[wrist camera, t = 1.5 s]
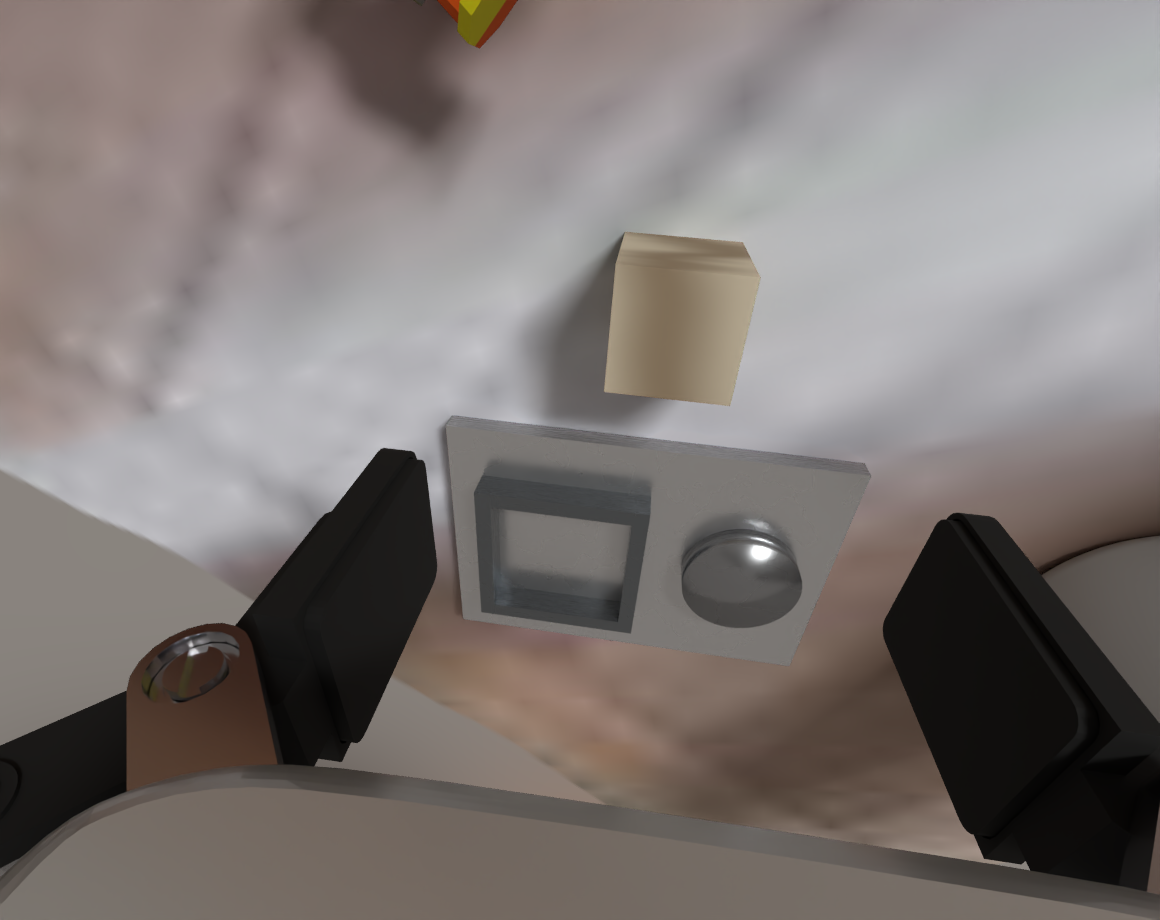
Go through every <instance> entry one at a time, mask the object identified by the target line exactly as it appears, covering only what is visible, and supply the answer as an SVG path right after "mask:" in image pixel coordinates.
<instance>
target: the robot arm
mask: <svg viewBox="0 0 1160 920" xmlns="http://www.w3.org/2000/svg"><path fill="white" fill-rule="evenodd" d="M436 572H437V559H436V550H435V542H434V533H433V525H432V516H431V508H430V500H429V491H428V483H427V474H426V467H425V463H424V461H423V460H417V458H416V455H415V453H414V452H412V451H405V450H396V449H387V448H383V449H381V450H380V451H378V453H377V454H376V455H375V457H374V458H373V459H372V460H371V462H370V463H369V464H368V466H367V467H366V468H365V469H364V471H363V472H362V473H361V474H360V476H359V477H358V478H357V480H356V481H355V482H354V483H353V485H352V486H351V487H350V489H349V490H348V491H347V492H346V494H345V495H344V496H343V498H342V499H341V500H340V501H339V503H338V504H337V505H336V507H335V508H334V509H333V510H332V512H329V513H326V514H325V515H324V516H323V517H322V518H320V519H319V521H318V522H317V523H316V525H315V526H314V527H313V528H312V530H311V531H310V532H309V533H308V535H307V536H306V537H305V538H304V540H303V541H302V542H301V543H300V545H299V546H298V547H297V548H296V550H295V551H294V552H293V554H292V555H291V556H290V557H289V559H288V560H287V561H286V562H285V564H284V565H283V566H282V567H281V569H280V570H279V571H278V572H277V574H276V575H275V576H274V578H273V579H272V580H271V581H270V583H269V584H268V585H267V586H266V588H265V589H264V590H263V591H262V593H261V594H260V595H259V596H258V598H257V599H256V600H255V602H254V603H253V604H252V605H251V607H250V608H249V609H248V610H247V612H246V613H245V614H244V615H243V617H242V618H241V619H240V621H239V622H238V623H237V624H236V625H235V626H234V625H229V624H225V623H216V624H204V625H200V626H196V627H193V628H188V629H186V630H184V631H182V632H180V633H177V634H175V635H173V636H171V637H169V638H167V639H166V640H164V641H163V642H161V643H160V644H159V645H157V646H155V647H154V648H153V649H152V650H151V651H150V652H149V653H148V654H146V655H145V657H143V658H142V659H141V660H140V661H139V663H138V664H137V666H136V667H135V669H134V671H133V672H132V674H131V675H130V678H129V682H128V687H127V691H125V692H122V693H120V694H118V695H115V696H113V697H111V698H109V699H106V700H104V701H102V702H99V703H97V704H95V705H93V706H90V707H88V708H86V709H83V710H81V711H79V712H76V713H74V714H72V715H70V716H67V717H65V718H63V719H60V720H58V721H56V722H54V723H51V724H49V725H47V726H44V727H42V728H40V729H37V730H35V731H33V732H31V733H28V734H26V735H24V736H22V737H19V738H17V739H15V740H12V741H10V742H8V743H5V744H3V745H1V746H0V920H1160V723H1159V722H1158V721H1157V719H1156V718H1155V717H1154V716H1153V714H1152V713H1151V712H1150V711H1149V709H1148V708H1147V707H1146V706H1145V704H1144V703H1143V702H1142V701H1141V699H1140V698H1139V697H1138V696H1137V694H1136V693H1135V692H1134V691H1133V689H1132V688H1131V687H1130V686H1129V684H1128V683H1127V682H1126V681H1125V679H1124V678H1123V677H1122V676H1121V674H1120V673H1119V672H1118V671H1117V669H1116V668H1115V667H1114V666H1113V664H1112V663H1111V662H1110V661H1109V659H1108V658H1107V657H1106V656H1105V654H1104V653H1103V652H1102V651H1101V649H1100V648H1099V647H1098V646H1097V644H1096V643H1095V642H1094V641H1093V639H1092V638H1091V637H1090V636H1089V634H1088V633H1087V632H1086V631H1085V629H1084V628H1083V627H1082V626H1081V624H1080V623H1079V622H1078V621H1077V619H1076V618H1075V617H1074V616H1073V614H1072V613H1071V612H1070V611H1069V609H1068V608H1067V607H1066V606H1065V604H1064V603H1063V602H1062V601H1061V599H1060V598H1059V597H1058V596H1057V594H1056V593H1055V592H1054V591H1053V589H1052V588H1051V587H1050V586H1049V584H1048V583H1047V582H1046V581H1045V579H1044V578H1043V577H1042V576H1041V574H1040V573H1039V572H1038V571H1037V569H1036V568H1035V567H1034V566H1033V564H1032V563H1031V562H1030V561H1029V559H1028V558H1027V557H1026V556H1025V554H1024V553H1023V552H1022V551H1021V549H1020V548H1019V547H1018V546H1017V544H1016V543H1015V542H1014V541H1013V539H1012V538H1011V537H1010V536H1009V534H1008V533H1007V532H1006V531H1005V529H1004V528H1003V527H1002V526H1001V524H1000V523H999V522H998V521H997V520H996V519H995V518H993V517H990V516H982V515H973V514H964V513H953V514H952V515H950V516H949V517H948V518H947V519H946V520H941V521H939V522H938V523H937V524H936V526H935V528H934V529H933V531H932V533H931V535H930V537H929V539H928V541H927V542H926V544H925V546H924V548H923V550H922V552H921V554H920V555H919V557H918V559H917V561H916V563H915V565H914V566H913V568H912V570H911V572H910V574H909V576H908V578H907V579H906V581H905V583H904V585H903V587H902V589H901V591H900V592H899V594H898V596H897V598H896V600H895V602H894V603H893V605H892V607H891V609H890V611H889V613H888V615H887V616H886V618H885V621H884V624H883V636H884V640H885V643H886V645H887V647H888V650H889V652H890V655H891V657H892V659H893V662H894V664H895V667H896V669H897V671H898V674H899V676H900V679H901V681H902V683H903V686H904V688H905V691H906V693H907V695H908V698H909V700H910V702H911V705H912V707H913V710H914V712H915V714H916V717H917V719H918V722H919V724H920V726H921V729H922V731H923V734H924V736H925V738H926V741H927V743H928V746H929V748H930V750H931V753H932V755H933V758H934V760H935V762H936V765H937V767H938V769H939V772H940V774H941V777H942V779H943V781H944V784H945V786H946V789H947V791H948V793H949V796H950V798H951V801H952V803H953V805H954V808H955V810H956V813H957V815H958V817H959V820H960V822H961V824H962V825H963V827H964V828H965V829H966V831H968V832H969V833H970V834H974V836H975V839H976V841H977V843H978V846H979V848H980V850H981V853H982V855H983V857H984V859H989V860H996V861H1002V862H1009V863H1015V864H1022V863H1024V862H1025V861H1026V862H1027V864H1028V866H1029V868H1030V871H1029V870H1024V869H1017V868H1012V867H1006V866H1000V865H994V864H987V863H981V862H975V861H968V860H962V859H955V858H949V857H943V856H936V855H930V854H923V853H917V852H911V851H904V850H898V849H891V848H885V847H879V846H872V845H866V844H859V843H853V842H846V841H840V840H834V839H827V838H821V837H814V836H808V835H801V834H794V833H788V832H781V831H775V830H768V829H762V828H755V827H748V826H742V825H735V824H729V823H722V822H715V821H709V820H702V819H695V818H689V817H682V816H675V815H669V814H662V813H655V812H649V811H642V810H635V809H629V808H622V807H616V806H609V805H602V804H595V803H588V802H581V801H574V800H568V799H560V798H554V797H547V796H540V795H533V794H525V793H520V792H512V791H506V790H499V789H492V788H485V787H478V786H470V785H465V784H458V783H451V782H444V781H436V780H427V779H420V778H412V777H404V776H396V775H389V774H381V773H373V772H365V771H357V770H349V769H340V768H327V767H314V766H315V764H316V762H317V760H318V759H325V760H332V761H338V762H342V760H343V758H344V756H345V754H346V752H347V749H348V748H349V746H350V743H351V742H353V743H358V742H360V741H361V739H362V738H363V736H364V734H365V732H366V730H367V728H368V726H369V724H370V722H371V719H372V717H373V715H374V713H375V711H376V708H377V706H378V704H379V702H380V700H381V697H382V695H383V693H384V691H385V689H386V686H387V684H388V682H389V680H390V678H391V675H392V673H393V671H394V669H395V667H396V664H397V662H398V660H399V658H400V656H401V654H402V651H403V649H404V647H405V645H406V643H407V640H408V638H409V636H410V634H411V632H412V629H413V627H414V625H415V623H416V621H417V618H418V616H419V614H420V612H421V610H422V607H423V605H424V603H425V601H426V599H427V596H428V594H429V592H430V590H431V588H432V585H433V583H434V581H435V577H436Z"/></svg>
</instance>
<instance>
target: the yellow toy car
mask: <svg viewBox="0 0 1160 920" xmlns="http://www.w3.org/2000/svg"><path fill="white" fill-rule="evenodd" d="M414 1H415V2H416V3H418V4H419V5H421V6H422V5H423V3H424V1H425V0H414ZM437 1H438V2H439V3H440V4H441V5H442V6H443V8H444V9H445V10H446V11H447V12H448V13H449V14H450V15H451V17H452V18H453V19H454V20H455V21H456V22H457V23H458V29H457V31H458V33H459V34H460V35H461V36H462V37H463V38H464V39H465V40H466V42H467V43H468V44H470V45H473V46H475V47H478V48H481V46H482V45H483V44H484V43H485V42H486V41H487V40H488V39H489V38H490V37H491V35H492V34H493V33H494V32H495V31H496V30H497V29H498V28H499V27H500V25H501V24H502V22H503V21H504V19H505V18H506V16H507V15H508V14H509V12H510V11H511V9H512V8H513V6H514V5H515V3H516V2H517V0H437Z"/></svg>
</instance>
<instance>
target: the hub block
mask: <svg viewBox="0 0 1160 920" xmlns="http://www.w3.org/2000/svg"><path fill="white" fill-rule="evenodd" d="M760 278H761V277H760V275H759V273H758V272H757V270H756V268H755V266H754V264H753V262H752V260H751V258H750V256H749V254H748V252H747V250H746V248H745V246H744V244H743V242H733V241H722V240H711V239H699V238H688V237H677V236H666V235H655V234H643V233H632V232H625V234H624V237H623V241H622V244H621V248H620V251H619V254H618V258H617V261H616V266H615V276H614V287H613V298H612V309H611V320H610V331H609V342H608V353H607V364H606V375H605V386H604V392H609V393H618V394H627V395H636V396H645V397H654V398H663V399H672V400H681V401H690V402H699V403H708V404H717V405H725V406H730V404H731V400H732V396H733V392H734V387H735V383H736V379H737V375H738V371H739V366H740V362H741V358H742V354H743V350H744V345H745V341H746V337H747V333H748V328H749V324H750V320H751V316H752V312H753V307H754V303H755V299H756V295H757V291H758V286H759V282H760Z"/></svg>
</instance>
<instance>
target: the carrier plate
mask: <svg viewBox="0 0 1160 920" xmlns="http://www.w3.org/2000/svg"><path fill="white" fill-rule="evenodd" d="M446 435H447V446H448V457H449V468H450V479H451V490H452V501H453V512H454V523H455V534H456V545H457V556H458V567H459V578H460V589H461V600H462V611H463V619H467V620H474V621H481V622H488V623H495V624H501V625H508V626H515V627H522V628H529V629H536V630H543V631H550V632H557V633H564V634H570V635H577V636H584V637H591V638H598V639H605V640H612V641H619V642H626V643H633V644H639V645H646V646H653V647H660V648H667V649H674V650H681V651H688V652H695V653H702V654H708V655H715V656H722V657H729V658H736V659H743V660H750V661H757V662H764V663H771V664H777V665H784V666H790V663H791V661H792V659H793V656H794V654H795V652H796V649H797V647H798V645H799V642H800V640H801V638H802V635H803V633H804V631H805V629H806V626H807V624H808V622H809V619H810V617H811V615H812V612H813V610H814V608H815V605H816V603H817V601H818V598H819V596H820V594H821V591H822V589H823V587H824V584H825V582H826V580H827V577H828V575H829V573H830V570H831V568H832V566H833V563H834V561H835V559H836V556H837V554H838V552H839V549H840V547H841V545H842V542H843V540H844V538H845V536H846V533H847V531H848V529H849V526H850V524H851V522H852V519H853V517H854V515H855V512H856V510H857V508H858V505H859V503H860V501H861V498H862V496H863V494H864V491H865V489H866V487H867V484H868V482H869V480H870V477H871V474H870V473H869V471H868V469H867V467H866V465H865V464H863V463H855V462H846V461H837V460H829V459H820V458H812V457H803V456H794V455H786V454H777V453H769V452H760V451H751V450H743V449H734V448H726V447H717V446H708V445H700V444H691V443H683V442H674V441H665V440H657V439H648V438H640V437H631V436H622V435H614V434H605V433H597V432H588V431H579V430H571V429H562V428H554V427H545V426H537V425H528V424H519V423H511V422H502V421H494V420H485V419H476V418H468V417H459V416H452V417H451V418H450V420H449V421H448V423H447V424H446Z"/></svg>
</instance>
